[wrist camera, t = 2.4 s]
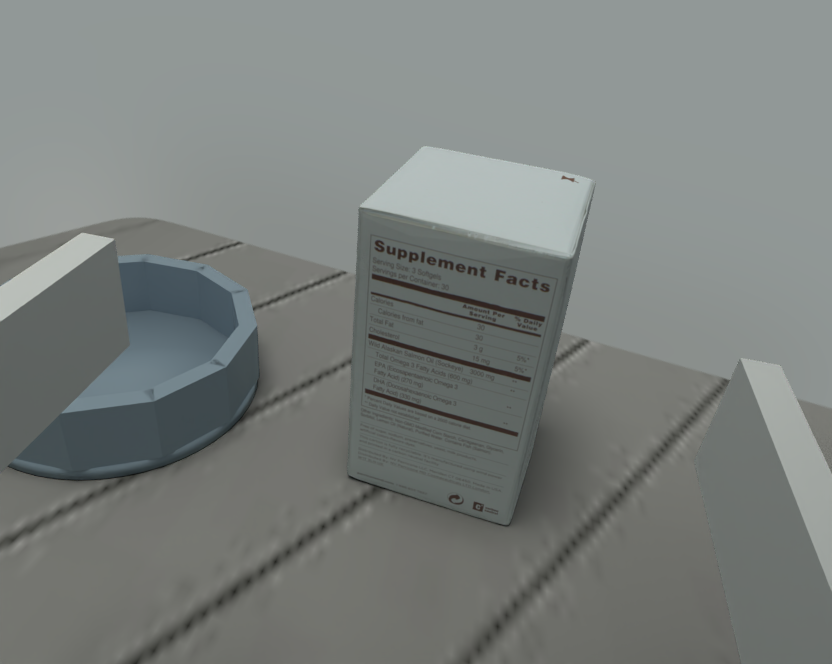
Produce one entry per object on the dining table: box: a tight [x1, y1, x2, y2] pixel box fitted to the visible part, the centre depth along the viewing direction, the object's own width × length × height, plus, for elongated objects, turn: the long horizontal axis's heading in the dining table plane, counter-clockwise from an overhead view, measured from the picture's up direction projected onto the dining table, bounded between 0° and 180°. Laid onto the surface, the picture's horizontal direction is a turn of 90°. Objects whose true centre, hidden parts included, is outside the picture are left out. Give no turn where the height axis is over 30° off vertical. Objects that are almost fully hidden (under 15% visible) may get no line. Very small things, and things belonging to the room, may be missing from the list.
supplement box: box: [347, 146, 596, 525], centre depth 28 cm, size 7×7×13 cm
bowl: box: [0, 254, 259, 480], centre depth 32 cm, size 13×13×4 cm
